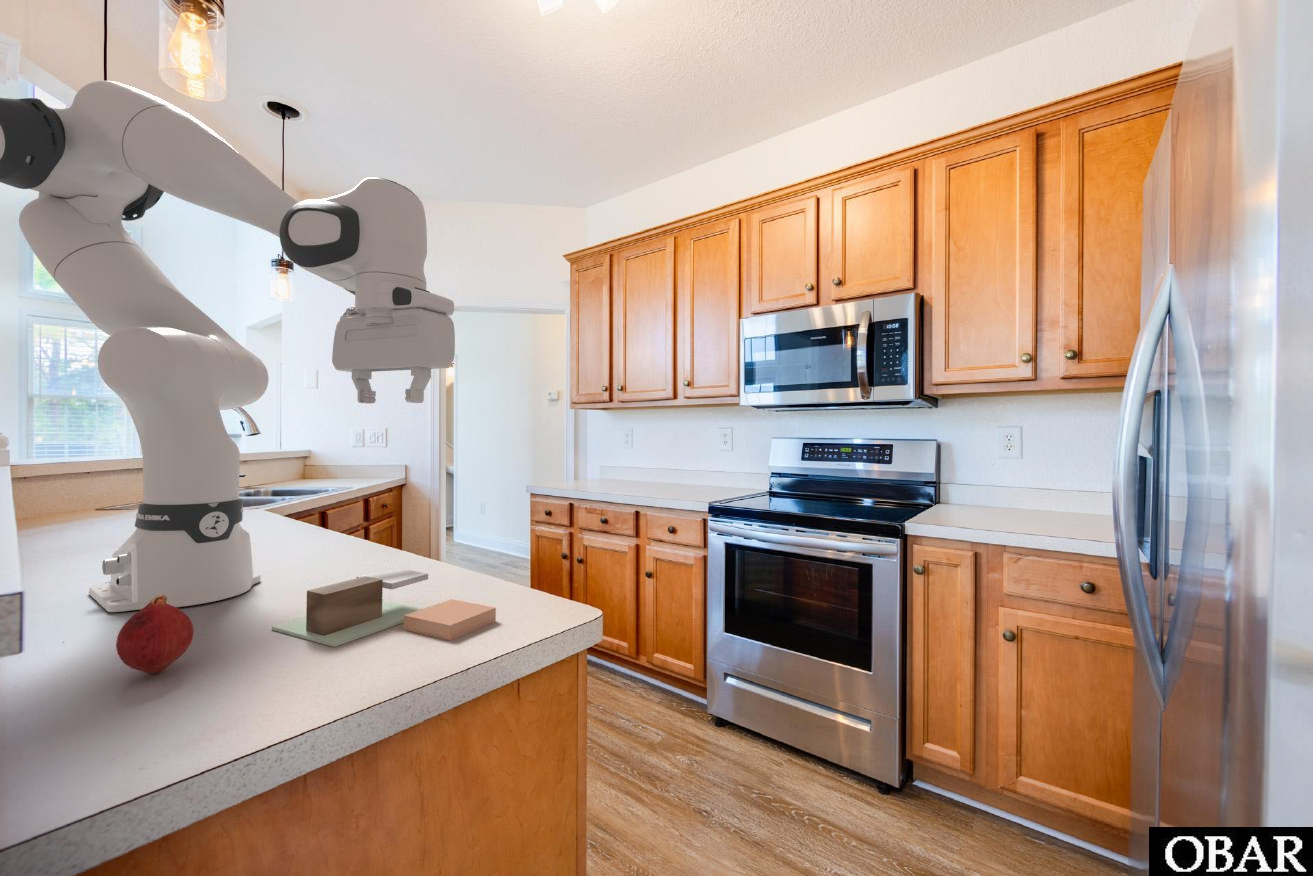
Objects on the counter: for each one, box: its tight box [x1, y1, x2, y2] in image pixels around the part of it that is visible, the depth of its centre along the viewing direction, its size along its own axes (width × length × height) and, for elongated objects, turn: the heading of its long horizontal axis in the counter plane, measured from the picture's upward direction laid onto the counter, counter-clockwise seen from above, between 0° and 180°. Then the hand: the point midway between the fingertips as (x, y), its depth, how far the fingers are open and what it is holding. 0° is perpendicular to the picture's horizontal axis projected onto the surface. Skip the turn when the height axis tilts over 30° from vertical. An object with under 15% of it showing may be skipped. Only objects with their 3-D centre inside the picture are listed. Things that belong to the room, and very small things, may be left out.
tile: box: [403, 598, 497, 641], centre depth 73 cm, size 8×2×8 cm
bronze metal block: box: [305, 567, 429, 636], centre depth 74 cm, size 7×14×5 cm, turn 155°
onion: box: [115, 595, 195, 675], centre depth 57 cm, size 6×6×8 cm
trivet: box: [271, 599, 423, 648], centre depth 74 cm, size 12×14×1 cm
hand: (389, 403), depth 77 cm, fingers open, 8 cm apart
